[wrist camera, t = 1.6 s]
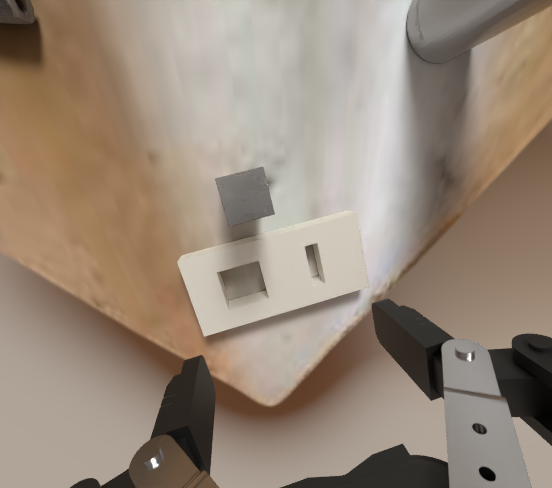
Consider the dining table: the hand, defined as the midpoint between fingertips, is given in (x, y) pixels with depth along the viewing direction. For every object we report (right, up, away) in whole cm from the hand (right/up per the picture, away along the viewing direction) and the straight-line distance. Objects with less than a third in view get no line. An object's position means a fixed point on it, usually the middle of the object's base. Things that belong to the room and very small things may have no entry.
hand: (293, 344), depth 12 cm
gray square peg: (-5, +12, +23) cm, 27 cm away
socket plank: (-1, +1, +27) cm, 27 cm away
